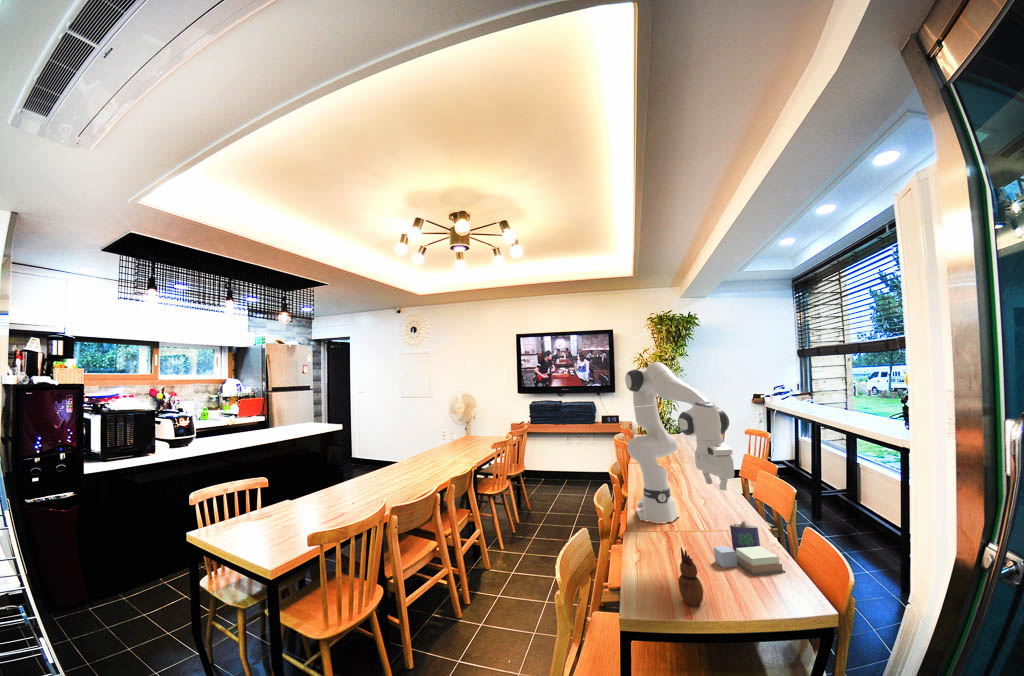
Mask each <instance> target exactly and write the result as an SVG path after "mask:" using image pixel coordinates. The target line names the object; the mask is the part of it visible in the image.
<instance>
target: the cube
mask: <svg viewBox="0 0 1024 676" xmlns="http://www.w3.org/2000/svg"><path fill="white" fill-rule="evenodd" d="M736 554H737V553H736V551H734V550H733V548H731V547H729V546H728V545H721V546H720V545H719V546H713V555H714V562H715V563H716V564H718V565H719V566H721V567H722V568H724V569H725V568H735V567H738V564H737V560H736Z"/></svg>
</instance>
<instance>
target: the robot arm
mask: <svg viewBox="0 0 1024 676" xmlns="http://www.w3.org/2000/svg"><path fill="white" fill-rule="evenodd" d="M624 380H625V385H626V388H627V389H628V390H629V392H632V402H633V409H634V416H635V421H636V423H637V425H638V426H640V427H642V428H643V429H644V430H645V432H646V435H645V434H644V435H640V436H639V435H638V436H635V437H632V438H630V439H629V440H628V441H627V445H626V449H627V453H628V454H629V456H630V458H631V459H633V460H635V461H636V462H637V464H638V465H639V467H640V470H641V473H642V479H643V490H642V492H643V495H642V497H641V498H640V500H639V502H637V509H635V512H636V511H637V513H636V515H637V514H638V515H637V517H638V516H639V517H638V519H639V518H640V519H641V520H649V521H652V522H670V521H673V520H675V519H676V517H678V516H679V517H680V514H677V510H676V509H677V508H676V504H675V500H674V498H672V496H671V489H670V486H669V478H668V472H667V470H666V469H665V468H664V467H662V466H661V465H660V464H659V463H658V461H657V458H664V457H667V456H670V455H672V454H674V453H675V452H676V451H677V441H676V438H675V437H674V436H673V435H671V434H670V433H669V432H668V431H667V429H665V427H664V426H663V423H662V421H661V417H660V412H659V407H658V401H657V397H656V394H657V396H659V397H660V398H662V400H667V401H673V402H675V401H676V402H681V403H686V404H690V405H691V406H692V407H690V408H689V409H687V410H686V411H682V412H681V413H680V414H679V416H678V419H677V425H678V429H679V430H680V431H681V433H682V434H684V435H685V436H689V437H694V436H695V441H696V449H695V450H694V460H695V467H696V469H698V470H699V471H702V475H703V477H704V480H705V481H704V482H705V484H707V485H712V484H713V479H712V478H711V475H712V476H715V477H718V478H719V483H720V484H719V483H718V486H719V490H722V491H727V488H728V487H727V484H728V481H729V480H728V479H733V478H734V477H735V466H734V460H733V457H732V455H733V449H732V448H731V446H728V444H727V443H726V442H724V437H723V435H724V434H725V433H726V431H728V428H729V426H730V419H729V416H728V415H727V413H726V411H724V410H723V409H721V408H720V407H718V406H717V405H716V403H713V402H711V401H710V400H709V399H708V398H706V397H705V396H704V395H703V394H702V393H701V392H700V391H698V389H696V388H695V387H693V386H692V385H690V384H688V383H686V382H685V381H684V380H682V379H680V378H678V377H677V375H675V374H674V372H673V371H672V370H671V369H670V368H669V367H668V366H667V365H665V364H664V363H663V362H660V361H655V362H651V363H649V364H648V366H646V367H645V368H639V369H631V370H629V371H628V372H626V374H625V379H624ZM710 474H711V475H710ZM639 508H640V509H639ZM676 514H677V515H676ZM640 519H639V520H640ZM641 520H640V521H641ZM676 520H677V519H676ZM652 522H651V523H652Z"/></svg>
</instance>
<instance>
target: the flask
mask: <svg viewBox="0 0 1024 676" xmlns="http://www.w3.org/2000/svg"><path fill="white" fill-rule="evenodd" d="M729 528H730V535H731V544H732V549H733V550H734V551H735V552H736V548H744V547H756V546H761V542H760V533H759V528H758V526H757V525H747V523H746V521H745V520H742V521H741V523H733V524H732V523H731V524H730V525H729Z"/></svg>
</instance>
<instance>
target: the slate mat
mask: <svg viewBox="0 0 1024 676" xmlns="http://www.w3.org/2000/svg"><path fill="white" fill-rule="evenodd" d="M737 566H739V567H741V568H742V569H743V570H745V571H746V572H748V573H749V574H750V575H752V576H759V575H760V576H761V575H770V574H771V575H772V574H781V573H786V570H785V569H783V571H772V572H761V573H752V572H751V571H750V570H748V569H747V568H745V567H744V566H742V565H741V564H740V563H738V562H737Z"/></svg>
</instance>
